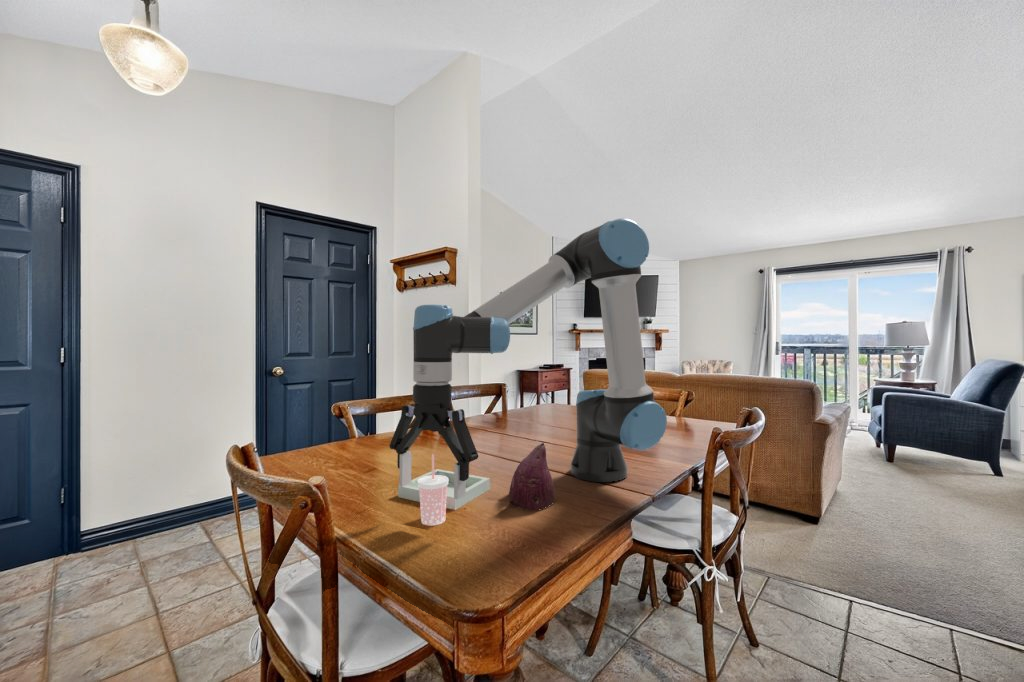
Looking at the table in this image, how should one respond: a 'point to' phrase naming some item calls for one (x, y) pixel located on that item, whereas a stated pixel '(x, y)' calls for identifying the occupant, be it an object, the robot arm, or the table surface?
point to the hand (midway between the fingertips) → (431, 490)
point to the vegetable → (532, 482)
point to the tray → (448, 489)
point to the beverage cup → (433, 497)
